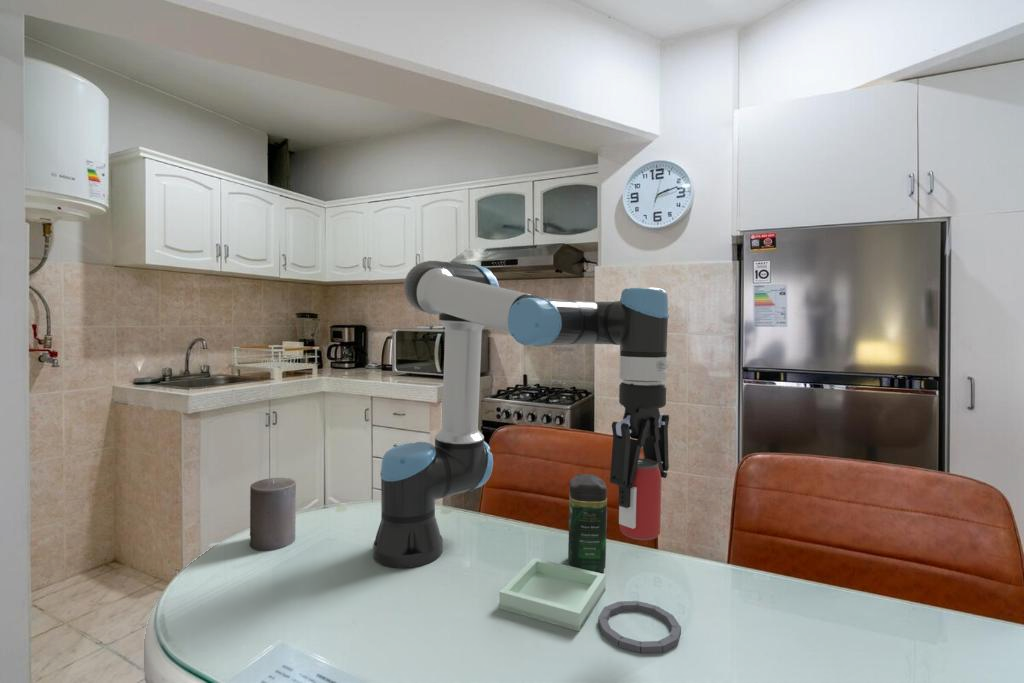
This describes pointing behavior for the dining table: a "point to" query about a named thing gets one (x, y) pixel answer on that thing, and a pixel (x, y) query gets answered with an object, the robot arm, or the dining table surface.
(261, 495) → the pillar candle
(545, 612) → the bin
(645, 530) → the beer can
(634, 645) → the socket ring
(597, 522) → the coffee jar
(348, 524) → the dining table surface
